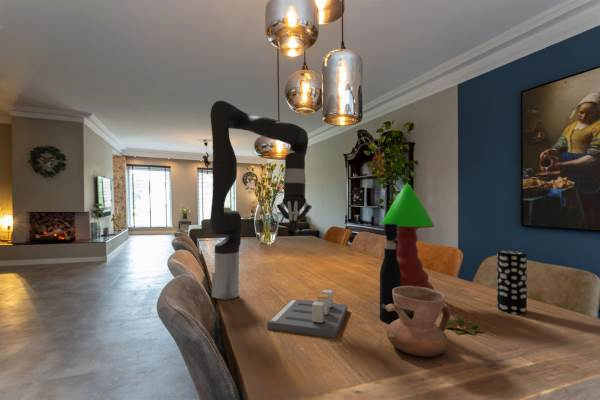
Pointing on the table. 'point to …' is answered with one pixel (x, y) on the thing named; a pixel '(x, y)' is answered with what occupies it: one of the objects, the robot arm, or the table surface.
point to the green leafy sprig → (463, 323)
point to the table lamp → (409, 236)
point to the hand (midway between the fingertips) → (293, 231)
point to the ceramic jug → (418, 321)
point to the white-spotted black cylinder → (512, 282)
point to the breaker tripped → (324, 299)
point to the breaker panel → (307, 319)
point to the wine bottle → (389, 275)
